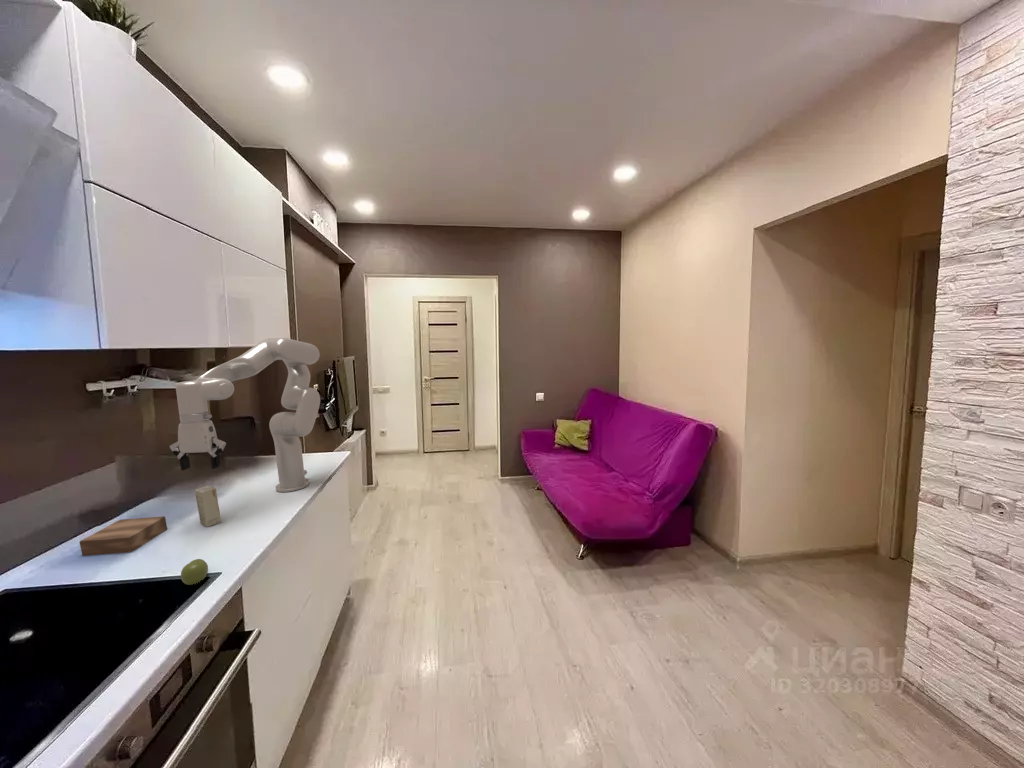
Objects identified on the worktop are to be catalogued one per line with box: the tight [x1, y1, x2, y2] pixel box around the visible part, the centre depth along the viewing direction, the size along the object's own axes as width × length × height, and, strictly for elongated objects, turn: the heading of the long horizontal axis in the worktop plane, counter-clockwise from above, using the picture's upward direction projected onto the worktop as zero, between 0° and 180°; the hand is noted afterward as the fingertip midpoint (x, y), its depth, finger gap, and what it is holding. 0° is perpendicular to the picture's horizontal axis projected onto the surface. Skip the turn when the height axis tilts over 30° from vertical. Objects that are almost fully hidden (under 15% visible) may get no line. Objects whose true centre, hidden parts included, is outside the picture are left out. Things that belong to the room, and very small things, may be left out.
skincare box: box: [194, 485, 222, 528], centre depth 140 cm, size 6×4×12 cm
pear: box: [180, 558, 209, 586], centre depth 108 cm, size 6×5×10 cm
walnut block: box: [79, 515, 168, 557], centre depth 129 cm, size 14×14×5 cm
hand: (201, 468), depth 137 cm, fingers open, 9 cm apart
